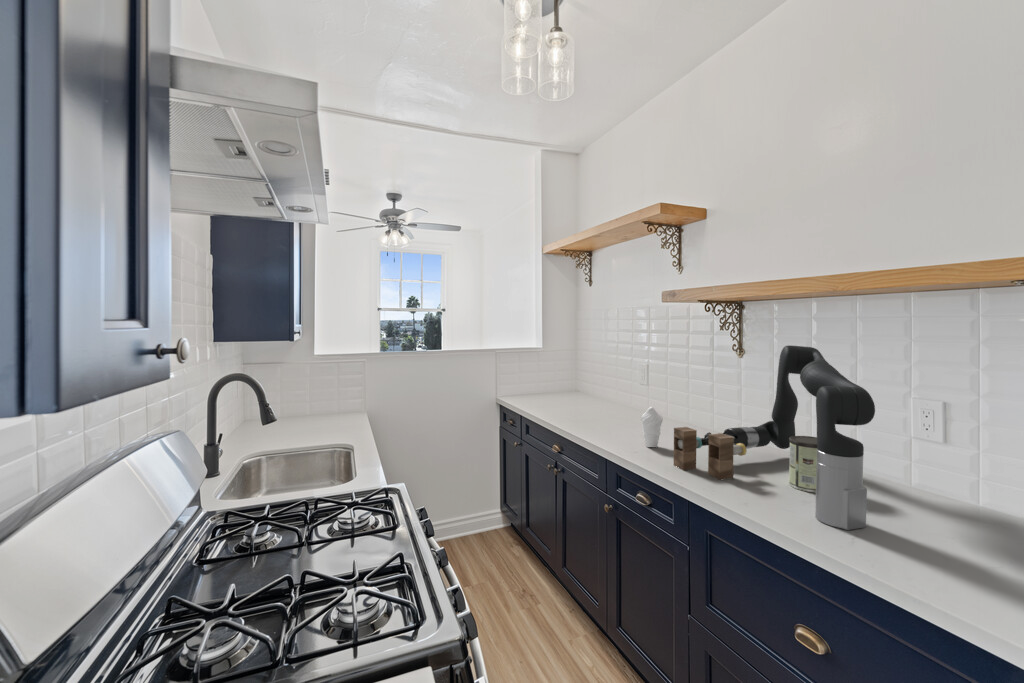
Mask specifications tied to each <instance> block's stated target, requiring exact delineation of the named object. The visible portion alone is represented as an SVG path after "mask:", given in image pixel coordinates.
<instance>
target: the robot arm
mask: <svg viewBox="0 0 1024 683" xmlns="http://www.w3.org/2000/svg"><path fill="white" fill-rule="evenodd" d="M777 369H778V370H777V380H776V391H775V400H774V402H773V403H774V404H773V407H772V412H771V419H772V420H770V421H767V422H764V423H762V424H760V425H758V426H750V427H748V426H742V427H741V426H740V427H728V428H725V430H724V431H723V432H718V433H717V434H720V433H722V434H725V435H728V436H731V437H734V445H736V444H738V443H742V444H744V445H745V447H746V450H748V449H752V448H760V447H766V446H768V445H769V444H770V443H772V444H773V445H775V446H776V447H777V448H779V449H780V450H787V449H790V440H789V438H790V437H792V436H796V424H795V423H796V422H795V418H796V415H797V413H798V408H799V401H798V398H797V395H796V393H795V390H793V388H792V386H791V383H790V379H789V376H790V374H791V375H793V374H795V375H799V379H800V382H801V385H802V386H803V388H805V390H806V391H807V392H808V393H809V394H810V395H812V396H814V397H815V413H816V437H817V465H816V493H815V511H814V512H815V513H814V514H815V518H816V519H817V520H818V521H819V522H821V523H824V524H826V525H827V526H831V527H834V528H839V529H842V530H844V531H851V530H852V531H853V530H857V529H861V528H866V527H867V501H868V500H867V499H868V489H867V487H866V486H863V485H864V484H863V482H864V480H863V478H864V475H863V474H864V452H865V451H864V448H865V447H864V445H863V444H864V443H863V442H861V441H859V440H857V439H855V438H852V437H850V436H846V435H845V434H844V435H843V434H842V433H840V432H839V431H837V429H836V425H840V426H864V425H867V424H869V423H870V422H872V420H873V419H874V418H875V417H874V416H875V415H876V413H875V412H876V405H875V402H874V400H873V398H872V395H871V394H870V393H869V392H868V391H867V390H866V389H865V388H864V387H862V386H860V385H858V384H856V383H854V382H852V381H851V380H849V378H846V377H845V376H844V375H843V374H841V373H840V371H838V370H837V369H836V368H835V367H834V366H833V365H832V364H830V363H829V362H828V361H827V360H826V359H825V358H824V356H823V354H822V353H821V351H819V349H817V348H816V347H811V346H802V345H801V346H800V345H799V346H798V345H785V346H784V347H783V348H782V349H781V352H780V355H779V359H778V368H777ZM709 434H712V432H707V433H706V434H704V435H703V436H704V437H703V438H702V437H699V438H700V439H701V441H702V446H701V447H703V446H704V447H705V446H709Z"/></svg>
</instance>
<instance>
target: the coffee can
mask: <svg viewBox="0 0 1024 683" xmlns="http://www.w3.org/2000/svg"><path fill="white" fill-rule="evenodd" d="M789 440H790V447H789V468H788V469H789V472H788V473H789V474H788V475H789V476H788V477H789V478H788V486H790V487H792V488H794V489H795V490H796V489H797V490H800V491H802V490H803V491H804V492H807V493H814V494H816V465H817V436H808V435H795V436H792V437H790V438H789ZM803 491H802V492H803Z"/></svg>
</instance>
